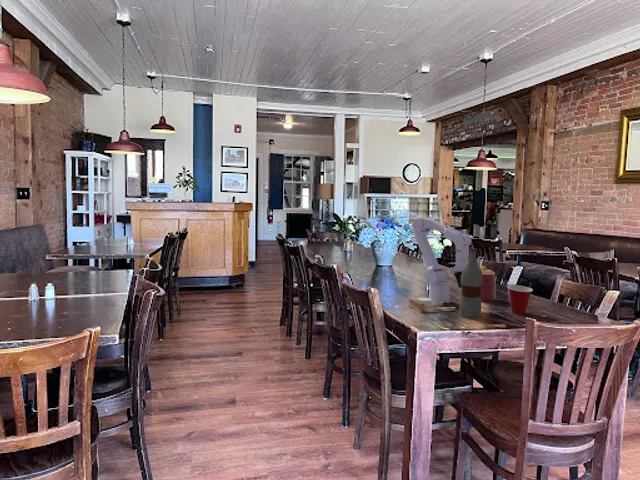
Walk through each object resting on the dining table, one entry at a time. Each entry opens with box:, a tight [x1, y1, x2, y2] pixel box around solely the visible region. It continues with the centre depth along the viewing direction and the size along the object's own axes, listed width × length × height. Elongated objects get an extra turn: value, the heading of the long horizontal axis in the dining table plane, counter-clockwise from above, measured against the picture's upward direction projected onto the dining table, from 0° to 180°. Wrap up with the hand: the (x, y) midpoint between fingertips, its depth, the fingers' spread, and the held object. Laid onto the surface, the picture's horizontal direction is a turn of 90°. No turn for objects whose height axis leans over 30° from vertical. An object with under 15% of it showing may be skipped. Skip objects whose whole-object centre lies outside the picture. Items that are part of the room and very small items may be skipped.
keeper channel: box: [408, 298, 456, 314], centre depth 222 cm, size 18×11×4 cm, turn 107°
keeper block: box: [415, 297, 434, 309], centre depth 220 cm, size 6×6×5 cm
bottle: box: [459, 248, 483, 319], centre depth 208 cm, size 9×9×30 cm
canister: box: [480, 265, 497, 302], centre depth 245 cm, size 13×13×18 cm
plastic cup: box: [507, 284, 534, 315], centre depth 216 cm, size 11×11×12 cm
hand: (460, 287), depth 227 cm, fingers closed
